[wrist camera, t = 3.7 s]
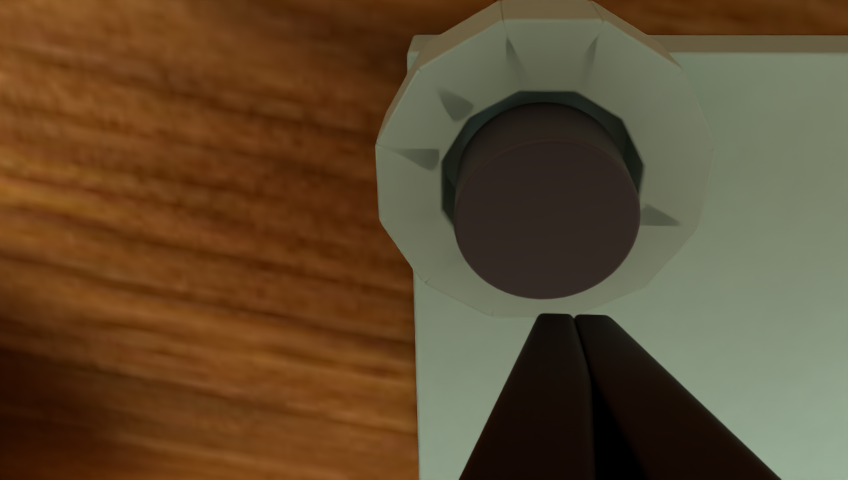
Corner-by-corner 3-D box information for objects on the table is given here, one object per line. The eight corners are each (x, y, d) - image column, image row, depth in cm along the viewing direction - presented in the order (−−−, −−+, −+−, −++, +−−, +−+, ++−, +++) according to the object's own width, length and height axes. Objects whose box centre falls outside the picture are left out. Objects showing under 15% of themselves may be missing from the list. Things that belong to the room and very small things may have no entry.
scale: (1055, -18, 13) (1203, 19, 10) (846, 466, 19) (903, 564, 17) (388, -15, 13) (367, 19, 11) (407, 447, 20) (396, 536, 17)
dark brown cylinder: (633, 101, 12) (655, 140, 10) (611, 250, 13) (628, 303, 12) (457, 100, 12) (454, 137, 10) (456, 247, 13) (453, 298, 12)
